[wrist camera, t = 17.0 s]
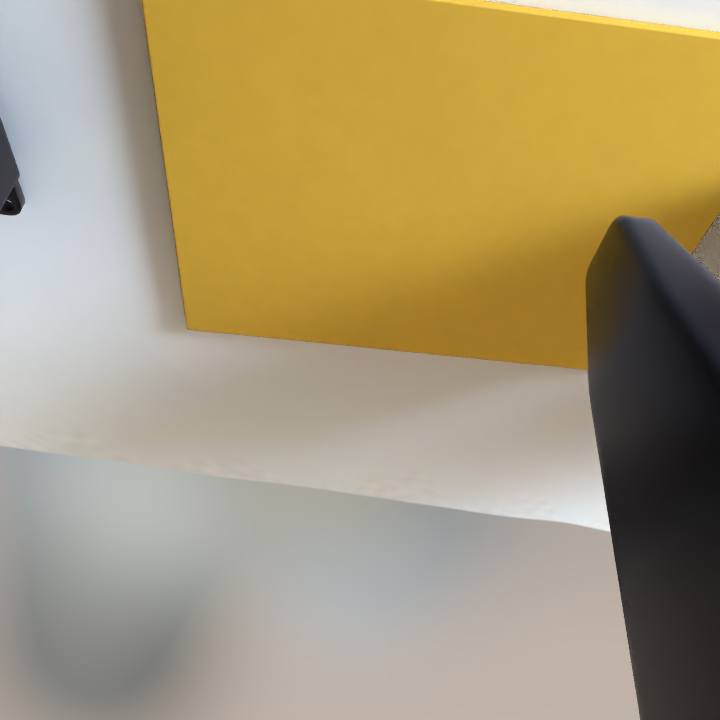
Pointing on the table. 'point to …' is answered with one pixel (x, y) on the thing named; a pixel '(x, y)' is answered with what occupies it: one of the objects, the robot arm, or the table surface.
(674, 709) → the robot arm
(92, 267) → the table surface
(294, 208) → the cloth
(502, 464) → the table surface
